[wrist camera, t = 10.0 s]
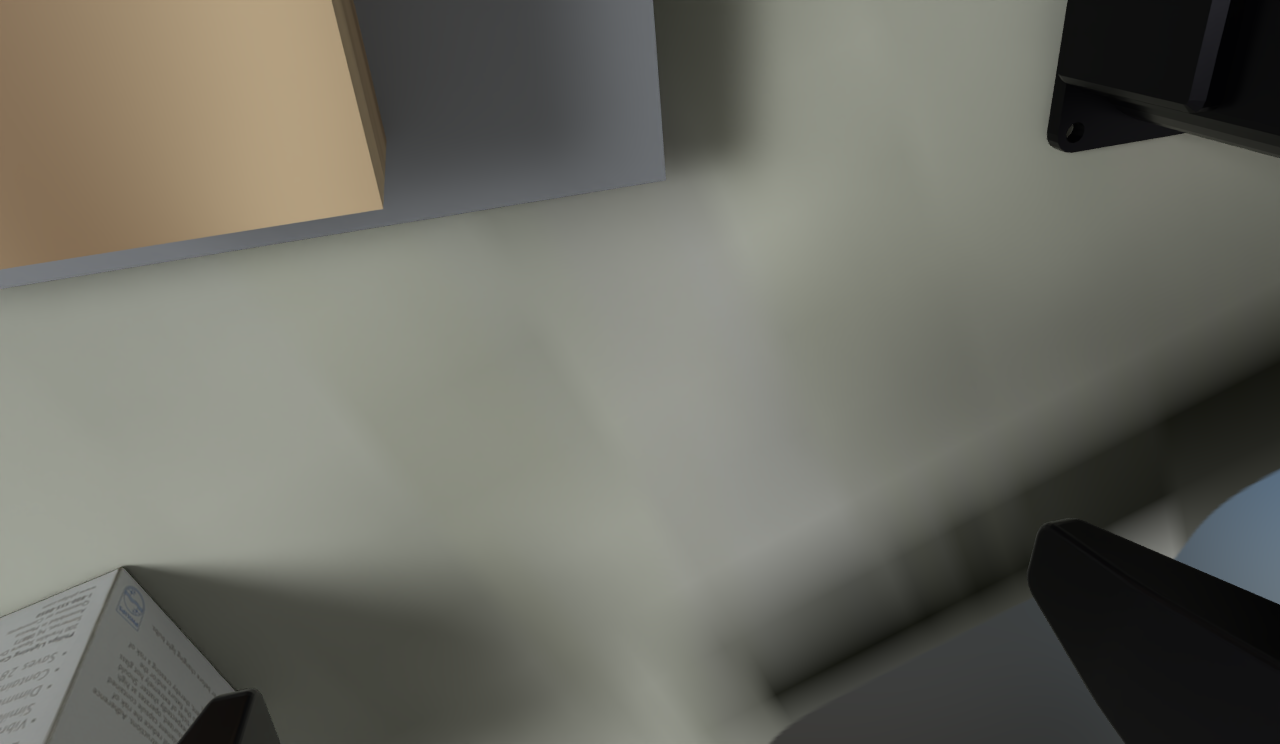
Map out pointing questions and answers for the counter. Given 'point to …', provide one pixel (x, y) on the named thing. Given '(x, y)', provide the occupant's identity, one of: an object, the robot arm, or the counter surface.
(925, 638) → the counter surface
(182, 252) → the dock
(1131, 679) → the robot arm
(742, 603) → the counter surface
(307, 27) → the pallet
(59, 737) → the light bulb box
